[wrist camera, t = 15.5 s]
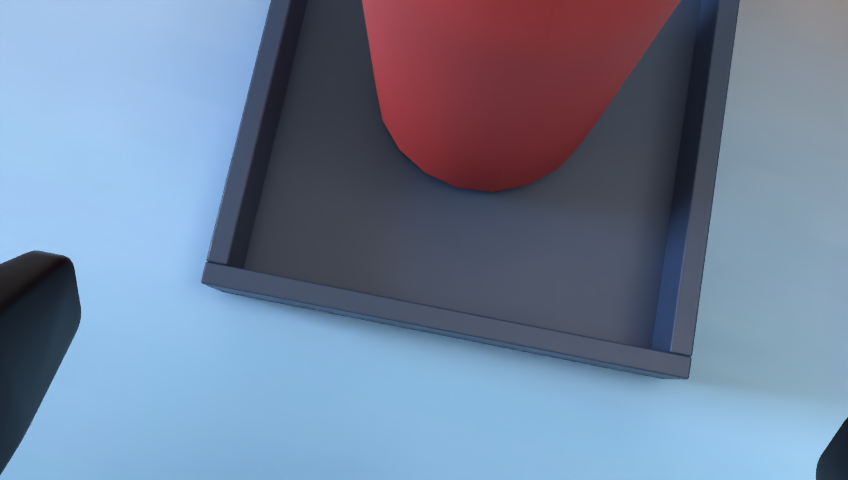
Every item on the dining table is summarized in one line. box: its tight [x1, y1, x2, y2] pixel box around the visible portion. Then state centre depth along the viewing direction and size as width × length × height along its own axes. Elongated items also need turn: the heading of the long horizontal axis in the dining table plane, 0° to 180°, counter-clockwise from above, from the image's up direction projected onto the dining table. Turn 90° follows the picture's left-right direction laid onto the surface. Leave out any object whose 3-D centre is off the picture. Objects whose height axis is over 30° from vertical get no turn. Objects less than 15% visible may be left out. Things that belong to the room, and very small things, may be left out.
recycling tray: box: [201, 0, 740, 379], centre depth 23 cm, size 15×13×2 cm
